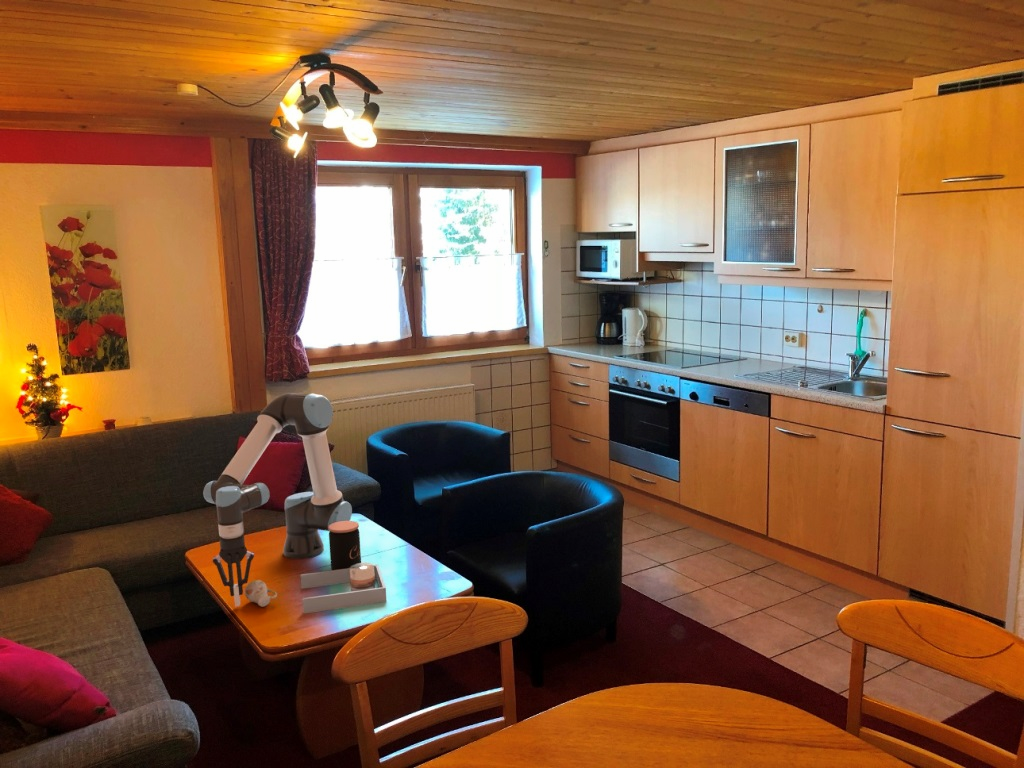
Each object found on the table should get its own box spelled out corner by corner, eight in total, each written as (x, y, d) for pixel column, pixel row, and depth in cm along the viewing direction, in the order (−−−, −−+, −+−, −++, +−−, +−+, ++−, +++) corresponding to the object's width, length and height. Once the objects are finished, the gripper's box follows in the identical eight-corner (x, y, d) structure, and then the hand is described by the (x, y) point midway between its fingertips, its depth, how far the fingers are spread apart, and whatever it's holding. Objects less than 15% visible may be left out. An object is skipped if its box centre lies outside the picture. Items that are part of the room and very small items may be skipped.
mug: (261, 614, 262) (236, 595, 262) (266, 611, 272) (242, 592, 272) (276, 595, 264) (252, 576, 264) (281, 592, 274) (257, 574, 274)
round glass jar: (350, 589, 278) (348, 564, 277) (374, 586, 280) (372, 561, 279) (352, 598, 270) (350, 573, 269) (376, 595, 273) (375, 569, 271)
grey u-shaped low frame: (301, 588, 280) (300, 574, 279) (378, 578, 287) (377, 564, 286) (303, 614, 260) (302, 599, 259) (386, 602, 267) (385, 587, 266)
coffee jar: (354, 580, 286) (351, 530, 283) (326, 578, 288) (323, 529, 285) (366, 568, 296) (363, 521, 294) (338, 567, 299) (335, 520, 296)
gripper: (209, 541, 256) (215, 612, 260) (252, 536, 260) (258, 606, 263) (211, 533, 263) (217, 602, 267) (253, 528, 267) (258, 597, 271)
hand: (237, 604), depth 265 cm, fingers closed
